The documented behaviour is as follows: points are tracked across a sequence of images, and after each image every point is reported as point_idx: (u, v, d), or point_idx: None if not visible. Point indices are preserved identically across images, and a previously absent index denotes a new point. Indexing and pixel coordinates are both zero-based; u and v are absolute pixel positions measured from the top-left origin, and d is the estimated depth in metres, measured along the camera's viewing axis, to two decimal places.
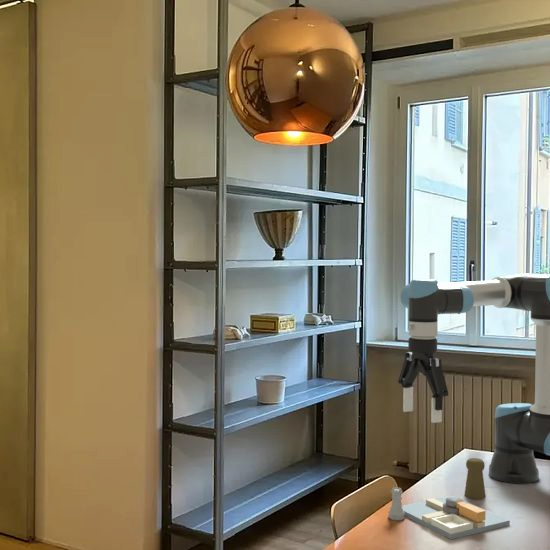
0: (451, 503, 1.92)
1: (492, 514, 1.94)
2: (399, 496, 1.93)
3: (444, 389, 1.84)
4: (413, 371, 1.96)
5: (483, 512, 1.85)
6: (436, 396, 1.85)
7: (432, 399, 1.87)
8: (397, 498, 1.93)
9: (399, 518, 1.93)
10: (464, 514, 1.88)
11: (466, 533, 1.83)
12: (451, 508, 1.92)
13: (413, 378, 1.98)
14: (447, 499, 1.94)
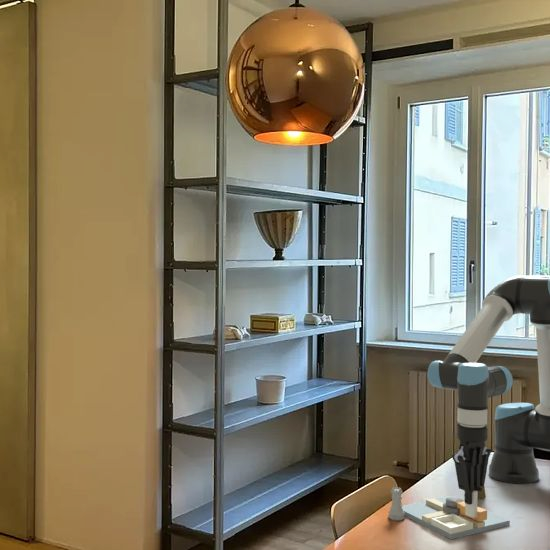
0: (451, 503, 1.92)
1: (492, 514, 1.94)
2: (399, 496, 1.93)
3: (463, 485, 1.83)
4: None
5: (485, 511, 1.85)
6: (464, 489, 1.85)
7: None
8: (397, 498, 1.93)
9: (399, 518, 1.93)
10: None
11: (466, 533, 1.83)
12: (451, 508, 1.92)
13: (475, 475, 1.85)
14: (447, 499, 1.94)
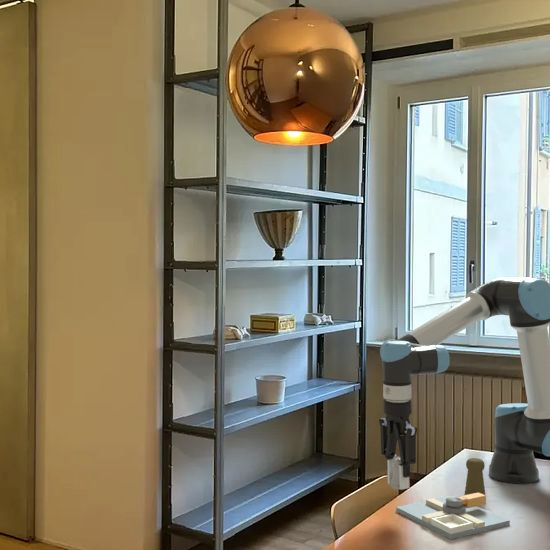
0: (462, 503, 1.92)
1: (492, 514, 1.94)
2: None
3: (413, 458, 1.89)
4: (391, 436, 1.95)
5: None
6: (404, 465, 1.90)
7: (400, 467, 1.91)
8: (398, 467, 1.93)
9: None
10: (473, 505, 1.95)
11: (466, 533, 1.83)
12: (451, 508, 1.92)
13: (394, 445, 1.96)
14: (454, 502, 1.92)
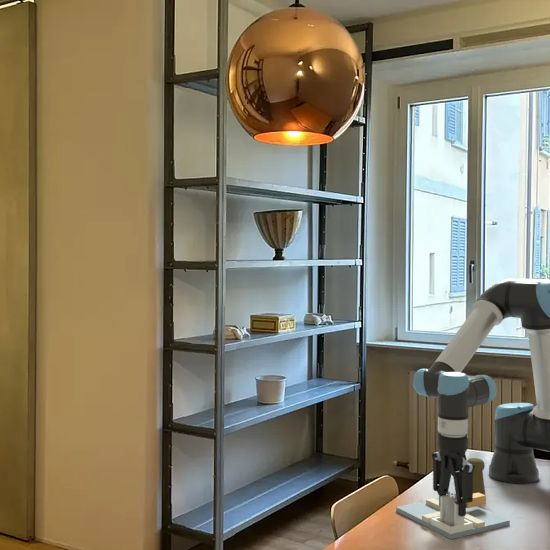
0: None
1: (492, 514, 1.94)
2: None
3: (470, 496, 1.80)
4: (445, 471, 1.86)
5: None
6: (460, 503, 1.81)
7: (455, 505, 1.82)
8: (453, 505, 1.84)
9: None
10: (473, 505, 1.95)
11: (466, 533, 1.83)
12: None
13: (448, 481, 1.87)
14: None
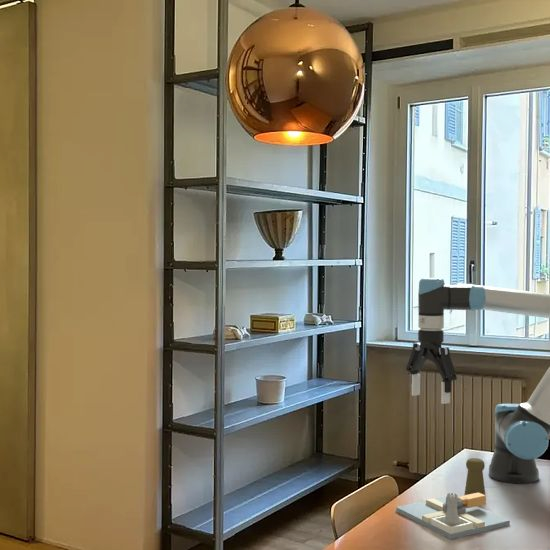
0: (462, 503, 1.92)
1: (492, 514, 1.94)
2: (455, 503, 1.84)
3: (453, 374, 2.11)
4: (421, 359, 2.22)
5: None
6: (446, 380, 2.12)
7: (442, 383, 2.13)
8: (453, 505, 1.84)
9: None
10: (473, 505, 1.95)
11: (466, 533, 1.83)
12: None
13: (420, 365, 2.24)
14: None
